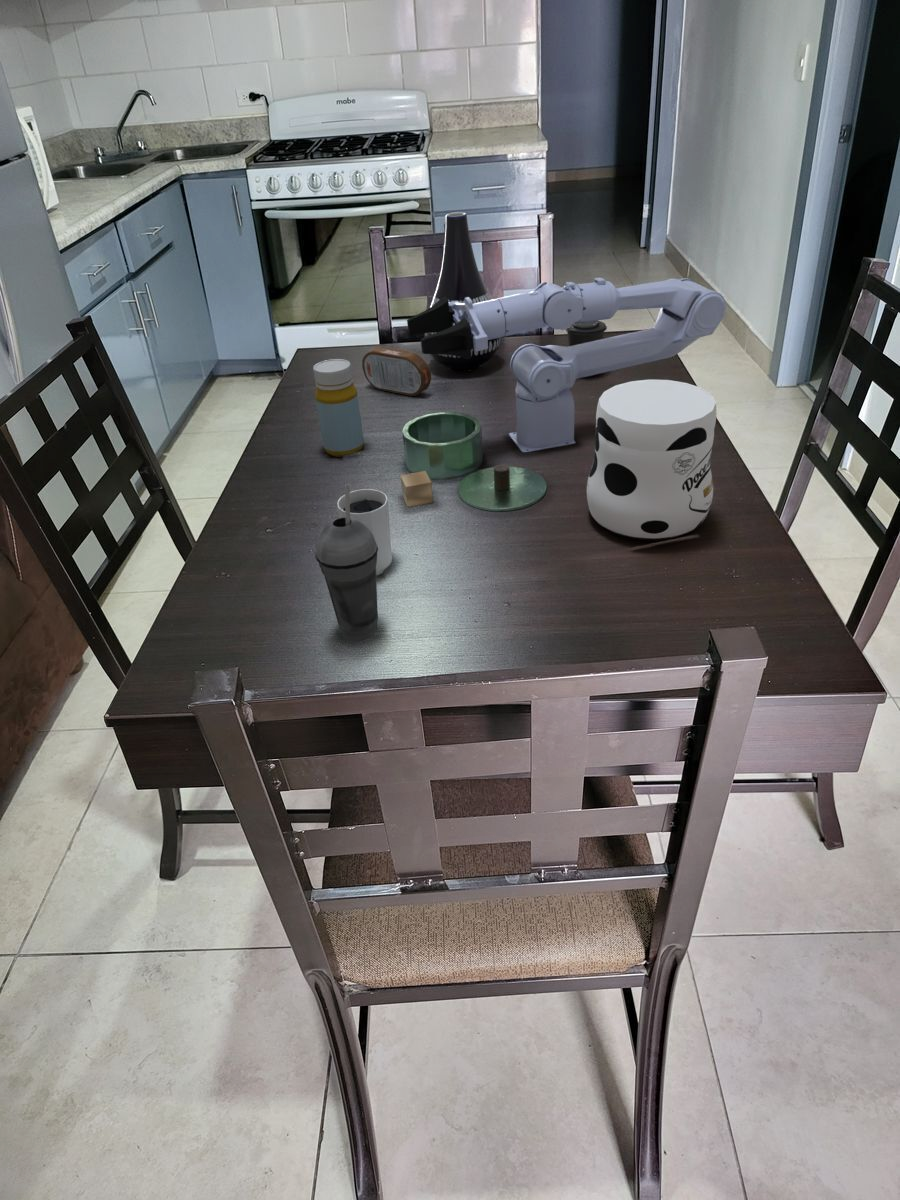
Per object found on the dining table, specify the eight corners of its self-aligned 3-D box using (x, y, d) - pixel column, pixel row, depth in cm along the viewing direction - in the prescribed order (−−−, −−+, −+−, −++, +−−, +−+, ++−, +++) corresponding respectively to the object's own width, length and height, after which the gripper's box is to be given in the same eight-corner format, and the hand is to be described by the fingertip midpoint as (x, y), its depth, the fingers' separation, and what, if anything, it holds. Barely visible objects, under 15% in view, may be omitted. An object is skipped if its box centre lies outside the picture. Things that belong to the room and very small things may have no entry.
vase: (411, 368, 175) (396, 217, 158) (465, 347, 183) (457, 201, 166) (463, 386, 165) (454, 227, 148) (518, 363, 174) (515, 210, 156)
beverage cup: (331, 615, 106) (304, 474, 94) (388, 609, 106) (369, 468, 95) (329, 651, 100) (301, 505, 88) (389, 645, 100) (369, 499, 89)
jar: (470, 442, 145) (468, 407, 141) (491, 473, 135) (490, 437, 131) (399, 454, 142) (395, 419, 139) (415, 487, 132) (412, 450, 129)
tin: (433, 394, 163) (430, 352, 158) (424, 400, 161) (420, 357, 156) (372, 383, 170) (366, 342, 165) (362, 388, 168) (357, 347, 163)
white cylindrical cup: (341, 559, 117) (330, 496, 111) (385, 547, 119) (377, 484, 113) (355, 583, 112) (345, 518, 106) (402, 570, 113) (394, 505, 108)
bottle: (358, 458, 142) (345, 373, 133) (319, 457, 143) (304, 373, 135) (369, 440, 148) (358, 358, 139) (331, 439, 149) (318, 357, 140)
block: (427, 493, 131) (425, 470, 128) (433, 505, 127) (431, 482, 125) (402, 498, 130) (400, 475, 128) (408, 510, 127) (405, 486, 124)
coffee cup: (607, 378, 163) (610, 327, 158) (566, 380, 164) (567, 330, 158) (602, 363, 170) (604, 314, 164) (562, 365, 170) (562, 316, 164)
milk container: (729, 541, 114) (748, 418, 103) (607, 559, 112) (614, 436, 102) (680, 483, 128) (693, 369, 117) (571, 499, 126) (573, 385, 116)
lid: (529, 466, 136) (529, 442, 133) (559, 505, 125) (559, 479, 122) (449, 481, 133) (447, 456, 131) (472, 521, 123) (470, 496, 120)
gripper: (482, 276, 131) (399, 293, 129) (514, 310, 121) (425, 329, 119) (484, 319, 136) (404, 336, 134) (516, 355, 126) (430, 375, 123)
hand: (414, 336), depth 126 cm, fingers open, 7 cm apart
